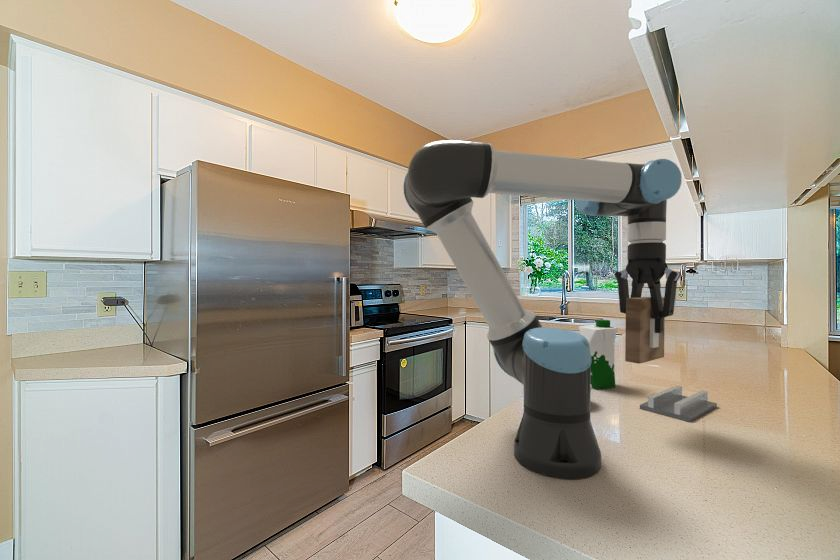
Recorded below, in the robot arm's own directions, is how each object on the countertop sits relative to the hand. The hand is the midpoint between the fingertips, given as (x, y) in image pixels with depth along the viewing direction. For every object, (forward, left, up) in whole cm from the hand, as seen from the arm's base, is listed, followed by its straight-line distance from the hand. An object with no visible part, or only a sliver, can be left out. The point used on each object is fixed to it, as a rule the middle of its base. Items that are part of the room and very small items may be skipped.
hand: (645, 345), depth 87 cm
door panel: (0, 0, -3) cm, 3 cm away
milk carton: (+20, +23, -18) cm, 35 cm away
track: (+18, 0, -18) cm, 25 cm away
